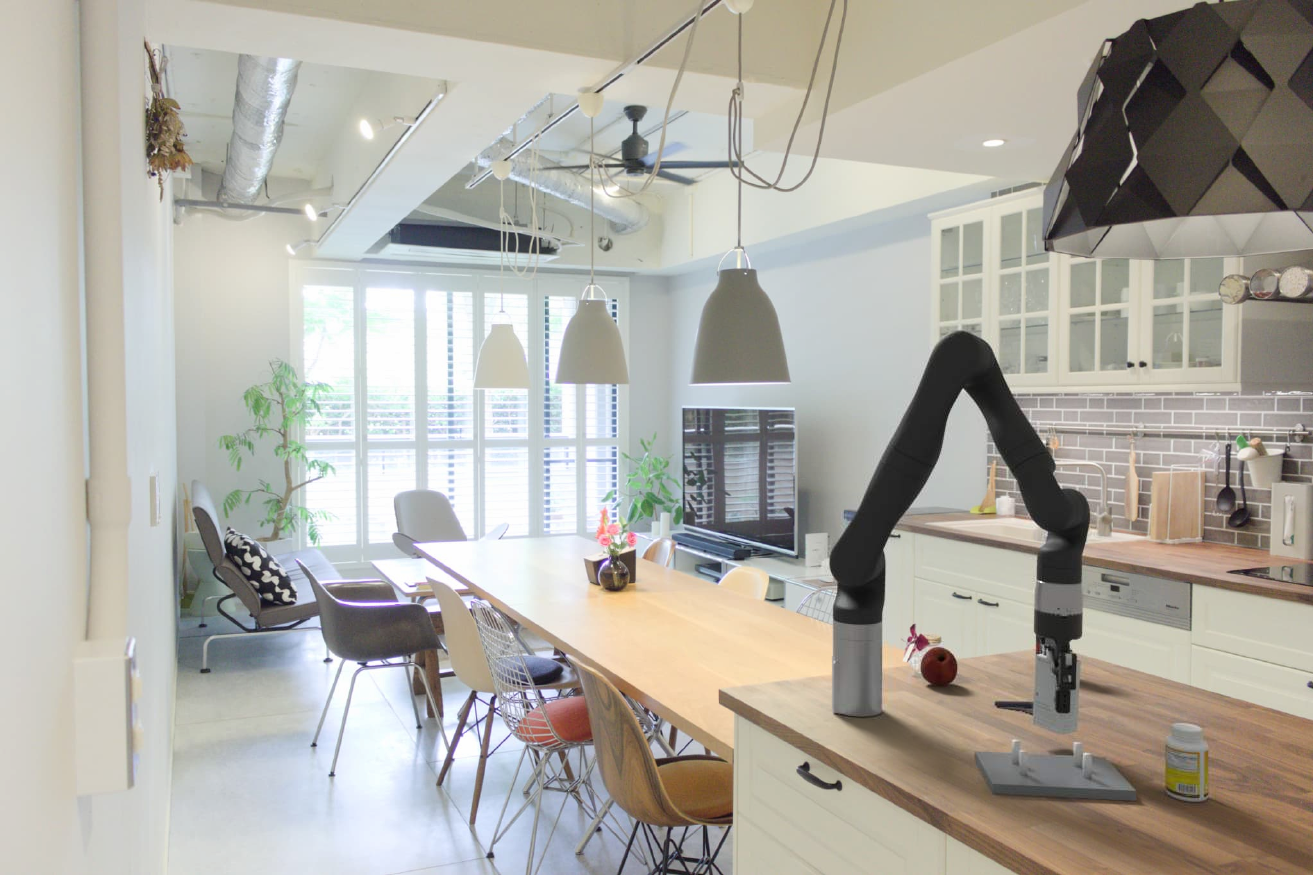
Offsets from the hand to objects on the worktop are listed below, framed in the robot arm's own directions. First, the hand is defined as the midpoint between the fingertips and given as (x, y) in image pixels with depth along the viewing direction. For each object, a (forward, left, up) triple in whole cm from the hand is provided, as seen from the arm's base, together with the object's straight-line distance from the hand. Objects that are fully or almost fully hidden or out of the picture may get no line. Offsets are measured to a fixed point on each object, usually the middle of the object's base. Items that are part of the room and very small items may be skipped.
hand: (1056, 705), depth 162 cm
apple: (-14, +37, -7) cm, 40 cm away
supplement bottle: (+13, -19, -7) cm, 24 cm away
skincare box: (0, 0, -4) cm, 4 cm away
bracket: (+2, +17, -8) cm, 19 cm away
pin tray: (-5, -15, -7) cm, 17 cm away
